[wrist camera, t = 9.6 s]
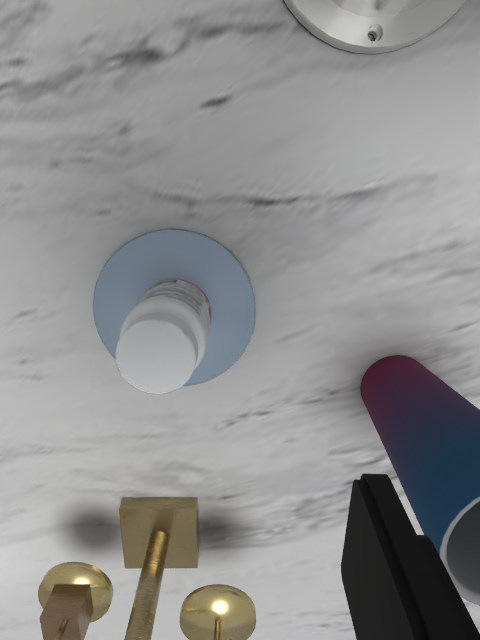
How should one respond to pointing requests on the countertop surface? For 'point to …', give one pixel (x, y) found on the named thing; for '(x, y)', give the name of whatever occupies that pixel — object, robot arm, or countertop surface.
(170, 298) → the pill bottle
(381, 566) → the robot arm
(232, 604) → the balance
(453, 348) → the countertop surface
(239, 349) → the saucer
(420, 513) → the cup
